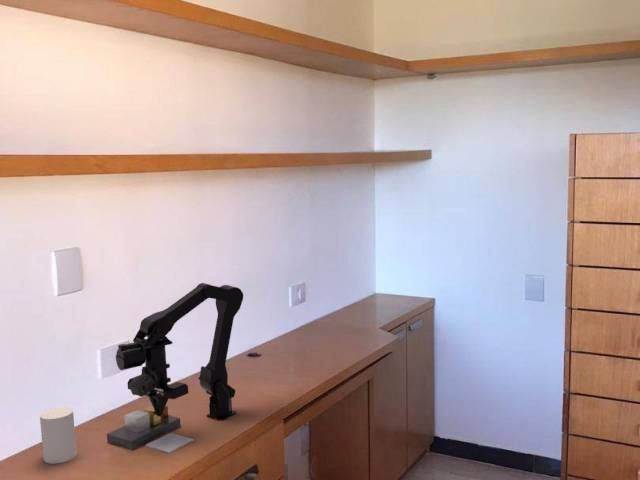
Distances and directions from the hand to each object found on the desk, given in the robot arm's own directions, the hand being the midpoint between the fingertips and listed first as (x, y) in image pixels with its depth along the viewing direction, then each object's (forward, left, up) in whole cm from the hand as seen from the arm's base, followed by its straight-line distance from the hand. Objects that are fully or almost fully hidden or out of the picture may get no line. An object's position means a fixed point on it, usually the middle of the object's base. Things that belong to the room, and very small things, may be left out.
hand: (159, 415), depth 186 cm
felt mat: (+3, +7, -5) cm, 10 cm away
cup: (+23, -13, -6) cm, 27 cm away
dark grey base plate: (+2, -4, -5) cm, 7 cm away
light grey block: (+4, -4, -3) cm, 7 cm away
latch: (0, -3, -2) cm, 4 cm away
